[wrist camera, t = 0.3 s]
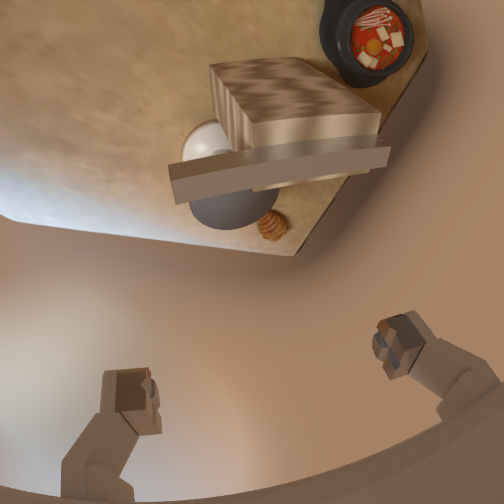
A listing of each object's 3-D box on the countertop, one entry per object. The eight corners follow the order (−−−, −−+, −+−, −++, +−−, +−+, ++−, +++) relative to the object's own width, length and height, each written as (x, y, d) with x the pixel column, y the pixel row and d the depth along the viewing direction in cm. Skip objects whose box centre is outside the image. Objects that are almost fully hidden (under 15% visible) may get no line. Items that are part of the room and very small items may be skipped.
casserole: (299, -20, 37) (322, -19, 32) (384, -30, 36) (413, -26, 31) (328, 95, 57) (349, 111, 51) (398, 74, 56) (423, 89, 50)
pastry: (248, 216, 76) (252, 227, 74) (272, 202, 75) (277, 212, 73) (265, 236, 83) (269, 247, 81) (287, 223, 82) (292, 233, 80)
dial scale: (207, 103, 52) (224, 139, 42) (268, 138, 61) (296, 179, 52) (165, 165, 59) (171, 214, 50) (225, 191, 68) (243, 239, 59)
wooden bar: (173, 187, 33) (175, 204, 31) (167, 165, 31) (170, 181, 29) (373, 153, 37) (385, 166, 35) (377, 134, 35) (391, 146, 33)
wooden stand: (213, 109, 53) (253, 192, 37) (208, 64, 46) (252, 123, 30) (294, 99, 56) (368, 172, 39) (296, 57, 49) (381, 112, 33)
